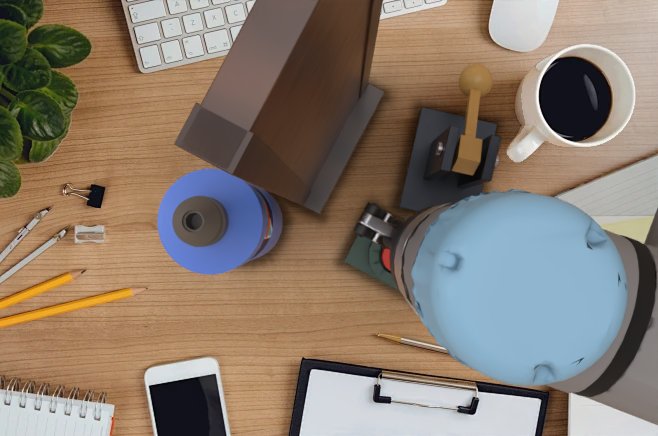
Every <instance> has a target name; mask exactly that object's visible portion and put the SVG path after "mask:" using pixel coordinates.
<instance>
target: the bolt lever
mask: <svg viewBox="0 0 658 436" xmlns="http://www.w3.org/2000/svg"><path fill="white" fill-rule="evenodd" d="M493 83H494V76H493V73H492V71H491V70H490V68H488V67H487V66H486V65H484V64H480V63H472V64H470V65H469V64H468V66H466V67H465V68H463V69H462V71H461V72H460V73H459V76H458V88H459V90H460V91H461V93H462V94H463V96H465V97H467V100H466V109H465V115H464V116H465V123H464V131H463V135H460V138H459V140H458V142H457V144H456V149H455V153H454V157H453V163H452V171H455V172H459V173H464V174H468V175H472V176H473V175H474V173H475V171H476V169H477V167H478V165H479V163H480V160H481V151H482V141H483V140H482V139H478V138H476V129H477V120H479V119H478V118H479V110H480V102H481V101H480V100H481V98H483V97H485V96H487V94H489V92H491V90H492V87H493V85H494V84H493Z"/></svg>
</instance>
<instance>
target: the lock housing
mask: <svg viewBox="0 0 658 436" xmlns="http://www.w3.org/2000/svg"><path fill="white" fill-rule="evenodd" d="M382 251H383V248H382V247H380V245H379V244H377V243H375V242H373V241H371V240H370V239H368V238H366V237H362V238H361V237H360V236H358V235H356V236H355V239H354V240H353V242H352V244H351V246H350V248H349V250H348V252H347V254H346V256H345V257H344V259H343V263H345V264H347V265H349V266H351V267H353V268H354V269H357V270H358V271H361V272H362V273H364V274H366V275H368V276H370V277H372V278H374V279H375V280H377V281H379V282H381V283H382V284H384V285H387V286H388V287H391V288H392V289H394V290H396V291H398V292H399V290H398V288H397V287H396V285H395V283H394V280H393V278H392V274H391V271H390V270H389V269H388V268H387V267H386V266H385V265H384V263H383V261H382Z"/></svg>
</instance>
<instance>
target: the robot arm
mask: <svg viewBox="0 0 658 436" xmlns="http://www.w3.org/2000/svg"><path fill="white" fill-rule="evenodd" d="M648 229H649V230H648V232H647V234H646V238H645V240H644V243H643V242H641V241H639V240H637V239H634V238H632V237H630V236H629V237H628V236H626V235H622V234H619V233H615V232H613V231H611V230H607V229H604V228H602V226H601V225H600V224H599V223H598V222H597V221H596V220H595V219H594V218H593V217H592V216H591V215H589V213H587V212H586V211H584V210H583V209H581V208H579V207H577V206H576V205H574V204H573V203H570V202H568V201H565V200H563V199H562V198H561V199H560V198H558V197H554V196H550V195H546V194H541V193H536V192H535V193H534V192H531V191H526V190H522V189H514V188H511V189H509V190H508V189H507V190H505V191H503V192H502V191H500V190H498V189H496V190H491V191H488V192H482V193H479V194H475V195H472V196H469V197H467V198H465V199H463V200H461V201H457V202H453V203H443V204H437V205H432V206H429V207H426V208H423V209H421V210H419V211H417V212H414V213H412V214H411V215H410V216H408V217H407V218H406V219H405V220H403V219H400V218H395V217H394V216H393V214H391V213H389V212H388V211H385V210H384V209H382V208H381V207H380V205H379V204H377V203H375V202H372V203H371V202H370V201H368V202H367V204H366V205H365V207H364V209H363V211H362V213H361V214H360V216H359V218H358V219H357V222H356V223H355V225H354V228H353V230H352V231H353V232H355V234H356V236H357V235H358V236H360V237H361V238H362V237H366V238H368V239H370V240H371V241H373V242H375V243H377V244H379V245H380V247H382V248H383V249H389V250H390V257H389V261H390V270H391V274H392V278H393V280H394V283H395V285H396V287H397V288H398V290H399V291H398V290H397V291H398V292H399V293H400V294H401V296H402V297H403V298H404V299H405V301H406V303H407V304H408V306H409V307H410V308H411V310H413V312H414V313H415V315H416V316H418V317H419V319H420V320H421V322H422V325H423V326H424V327H425V328H427V333H428V334H429V335H431V336H432V337H433V339H434V341H436V343H437V344H438V345H439V347H440V346H441V347H442V348H444V349H445V350H446V351H447V353H448V354H449V356H450V357H451V358H452V359H454V360H455V361H457V362H458V363H460V364H461V365H462V366H464V367H467V368H469V369H472V370H474V371H475V372H477V373H479V374H480V375H483V376H485V377H486V378H490V379H492V380H495V381H496V382H500V383H502V384H503V383H504V384H508V385H514V386H520V387H521V386H522V387H534V386H536V387H537V386H547V387H549V388H553V389H555V390H557V391H561V392H563V393H566V394H573V395H576V396H579V397H584V398H586V399H589V400H591V401H594V402H597V403H599V404H601V405H604V406H607V407H609V408H612V409H614V410H617V411H620V412H623V413H625V414H628V415H630V416H632V417H635V418H637V419H640V420H643V421H645V422H648V423H651V424H653V425H656V426H658V207H657V208H656V211H655V213H654V216H653V218H652V221H651V224H650V227H649V228H648Z"/></svg>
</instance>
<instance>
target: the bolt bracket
mask: <svg viewBox="0 0 658 436" xmlns="http://www.w3.org/2000/svg"><path fill="white" fill-rule="evenodd" d="M464 123H465V115H460V114H456V113H451V112H447V111H442V110H438V109H434V108H429V107H425V106H422V107H421V108H420V110H419V114H418V118H417V122H416V127H415V132H414V136H413V140H412V144H411V149H410V153H409V158H408V162H407V167H406V170H405V176H404V179H403V183H402V188H401V193H400V196H399V201H398V205H397V208H398V209H402V210H403V209H404V210H407V211H412V212H414V213H416V212H417V211H419V210H421V209H423V208H426V207H429V206H432V205H437V204H443V203H453V202H457V201H461V200H463V199H465V198H467V197H469V196H472V195H475V194H479V193H483V191H484V185H485V184H486V183H489V182H492V180H493V175H494V171H495V169H497V167H498V165H499V162H500V155H499V150H500V149H499V148H500V146H501V145H500V144H501V140H502V136H500V135H496V132H497V128H498V123H495V122H491V121H486V120H482V119H478V120H477V129H476V138H478V139H482V140H483V141H482V151H481V160H480V163H479V165H478V167H477V169H476V171H475V173H474V175H473V176H472V175H468V174H464V173H459V172H455V171H452V163H453V157H454V153H455V149H456V144H457V142H458V140H459V138H460V135H463V131H464Z"/></svg>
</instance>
